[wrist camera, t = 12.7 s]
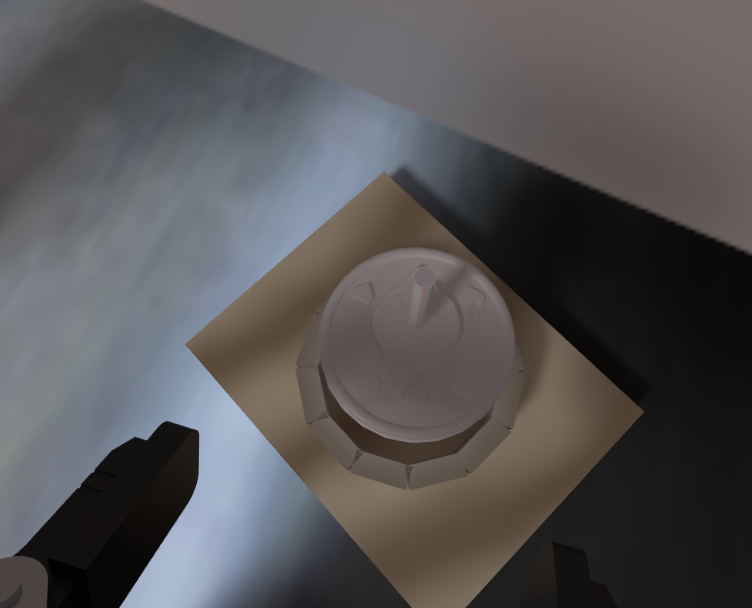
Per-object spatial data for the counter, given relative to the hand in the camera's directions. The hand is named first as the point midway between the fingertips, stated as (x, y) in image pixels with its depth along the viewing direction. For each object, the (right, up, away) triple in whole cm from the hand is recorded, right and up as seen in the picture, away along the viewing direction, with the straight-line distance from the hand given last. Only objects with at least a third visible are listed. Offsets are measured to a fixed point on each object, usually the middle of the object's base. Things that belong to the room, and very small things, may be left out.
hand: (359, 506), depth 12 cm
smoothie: (+2, +1, +14) cm, 15 cm away
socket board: (+2, +1, +16) cm, 16 cm away
